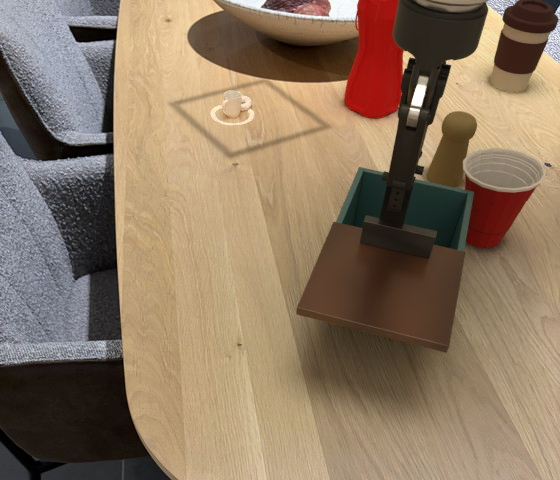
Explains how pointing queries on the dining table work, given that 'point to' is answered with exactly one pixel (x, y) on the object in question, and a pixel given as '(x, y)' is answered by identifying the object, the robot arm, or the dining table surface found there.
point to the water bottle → (375, 61)
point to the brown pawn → (452, 149)
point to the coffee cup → (521, 43)
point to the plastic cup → (498, 191)
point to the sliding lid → (386, 282)
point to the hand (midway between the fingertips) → (390, 228)
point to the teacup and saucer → (234, 107)
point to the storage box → (412, 207)
